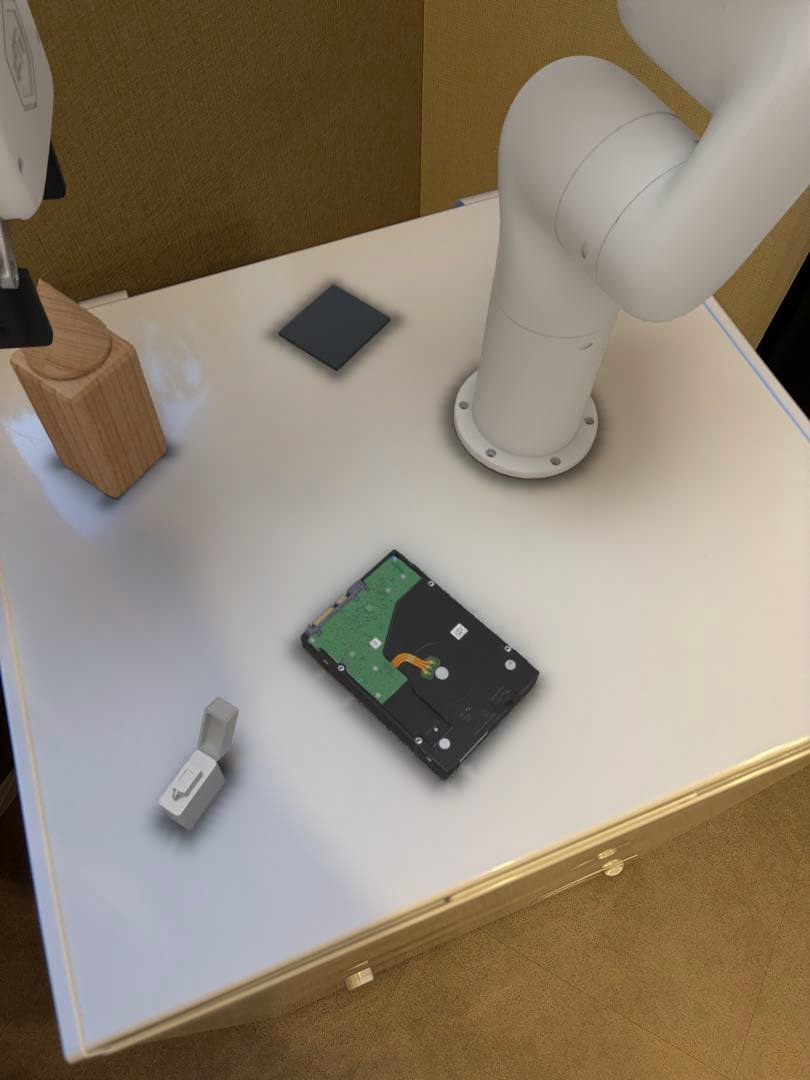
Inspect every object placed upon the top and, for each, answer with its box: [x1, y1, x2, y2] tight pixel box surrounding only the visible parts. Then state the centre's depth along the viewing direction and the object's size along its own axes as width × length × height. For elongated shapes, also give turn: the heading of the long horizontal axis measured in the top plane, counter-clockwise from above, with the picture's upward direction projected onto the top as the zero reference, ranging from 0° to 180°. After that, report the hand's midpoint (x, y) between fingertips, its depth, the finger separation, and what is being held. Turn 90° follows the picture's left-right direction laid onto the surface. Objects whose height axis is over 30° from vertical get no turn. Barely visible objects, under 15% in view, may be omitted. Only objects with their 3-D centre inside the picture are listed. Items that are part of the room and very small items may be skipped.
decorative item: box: [9, 277, 168, 499], centre depth 66 cm, size 7×7×20 cm
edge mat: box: [277, 283, 391, 372], centre depth 83 cm, size 8×7×1 cm
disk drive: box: [300, 548, 540, 781], centre depth 65 cm, size 10×3×15 cm
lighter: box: [158, 696, 240, 831], centre depth 58 cm, size 7×2×8 cm, turn 149°
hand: (26, 265), depth 42 cm, fingers open, 9 cm apart
